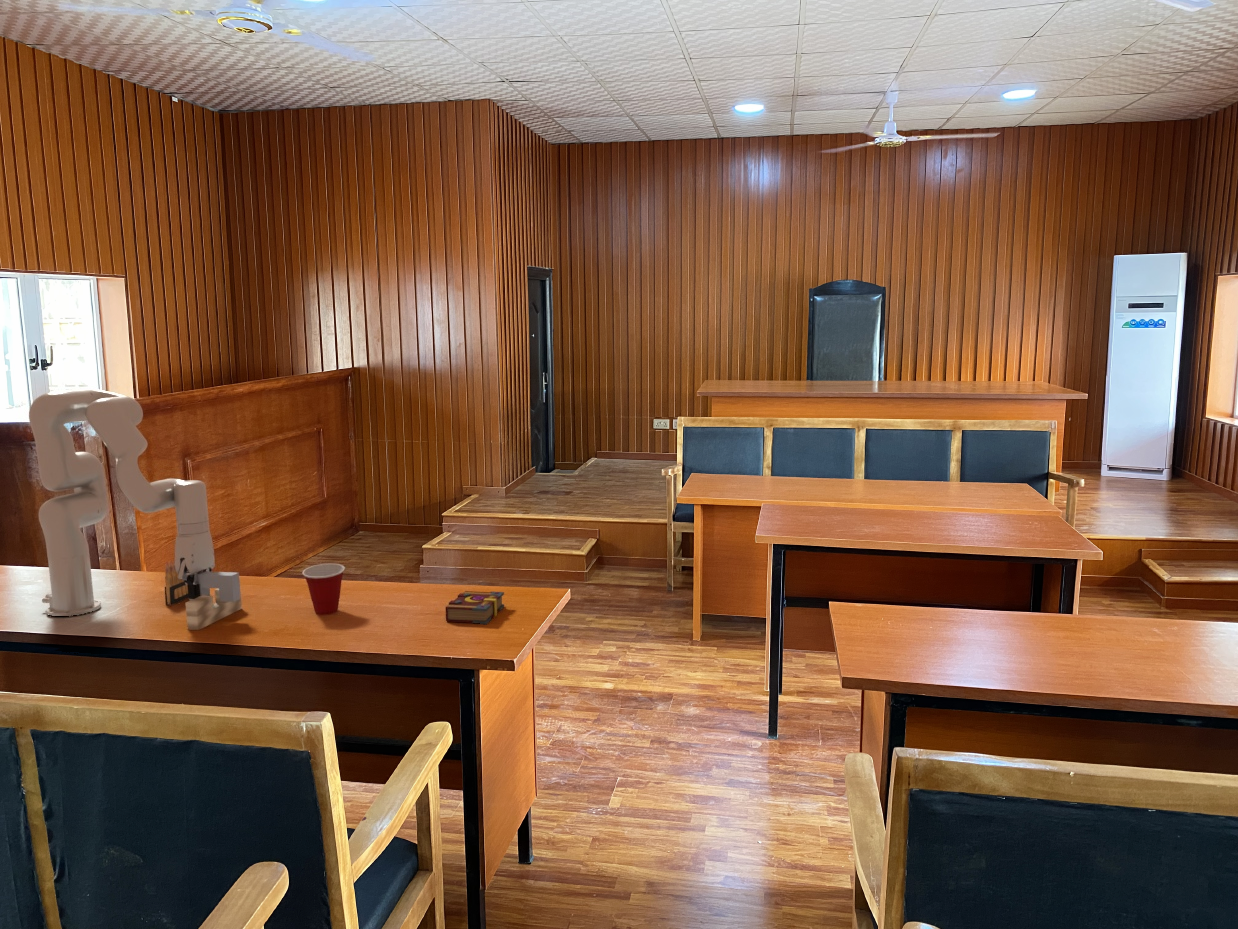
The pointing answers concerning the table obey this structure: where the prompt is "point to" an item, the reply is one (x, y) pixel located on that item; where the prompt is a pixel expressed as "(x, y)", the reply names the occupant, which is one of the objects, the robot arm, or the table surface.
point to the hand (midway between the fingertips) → (199, 596)
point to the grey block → (220, 584)
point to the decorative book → (474, 607)
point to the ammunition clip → (174, 586)
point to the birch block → (208, 610)
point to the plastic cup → (324, 586)
